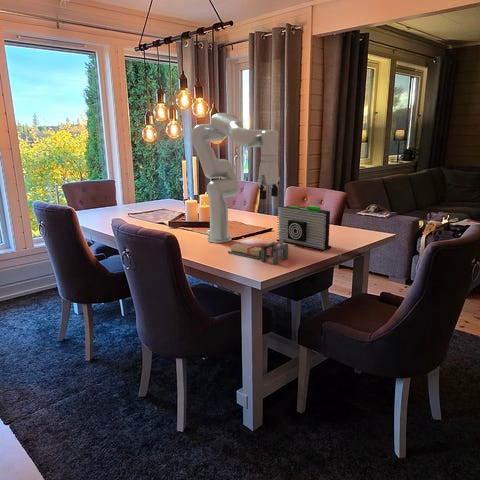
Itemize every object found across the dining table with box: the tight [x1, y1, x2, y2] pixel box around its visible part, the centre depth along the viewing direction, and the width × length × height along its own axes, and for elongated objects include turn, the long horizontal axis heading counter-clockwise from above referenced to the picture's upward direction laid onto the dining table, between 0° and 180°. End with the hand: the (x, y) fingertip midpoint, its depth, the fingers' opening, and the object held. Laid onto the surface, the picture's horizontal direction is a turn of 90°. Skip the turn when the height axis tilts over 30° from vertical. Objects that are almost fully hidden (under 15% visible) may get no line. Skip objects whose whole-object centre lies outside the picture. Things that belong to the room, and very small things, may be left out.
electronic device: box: [276, 205, 332, 252], centre depth 199 cm, size 28×11×20 cm, turn 45°
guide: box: [227, 250, 271, 261], centre depth 185 cm, size 19×7×1 cm, turn 53°
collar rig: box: [260, 240, 289, 265], centre depth 176 cm, size 8×11×8 cm
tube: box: [230, 243, 261, 257], centre depth 185 cm, size 16×4×4 cm, turn 52°
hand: (268, 197), depth 182 cm, fingers open, 9 cm apart
